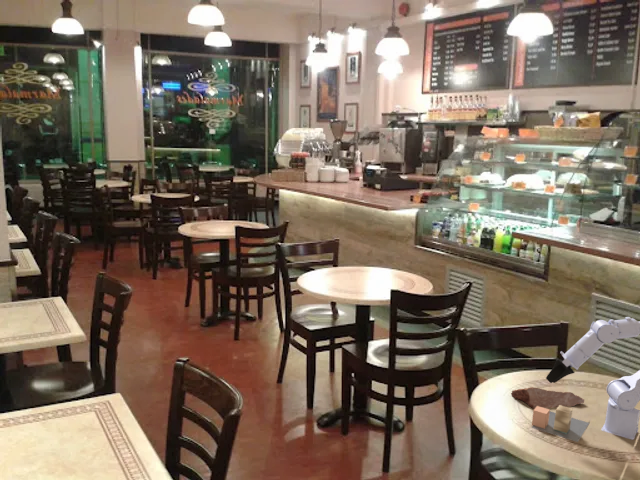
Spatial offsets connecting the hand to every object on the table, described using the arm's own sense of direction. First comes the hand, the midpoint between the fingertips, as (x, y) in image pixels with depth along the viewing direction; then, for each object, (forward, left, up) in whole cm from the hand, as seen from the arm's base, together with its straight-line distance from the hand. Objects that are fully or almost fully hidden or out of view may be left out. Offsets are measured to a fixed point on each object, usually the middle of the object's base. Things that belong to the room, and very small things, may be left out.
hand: (549, 380), depth 197 cm
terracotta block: (+1, +1, -15) cm, 15 cm away
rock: (+4, -20, -16) cm, 26 cm away
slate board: (-4, -3, -15) cm, 16 cm away
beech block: (-5, 0, -15) cm, 16 cm away
